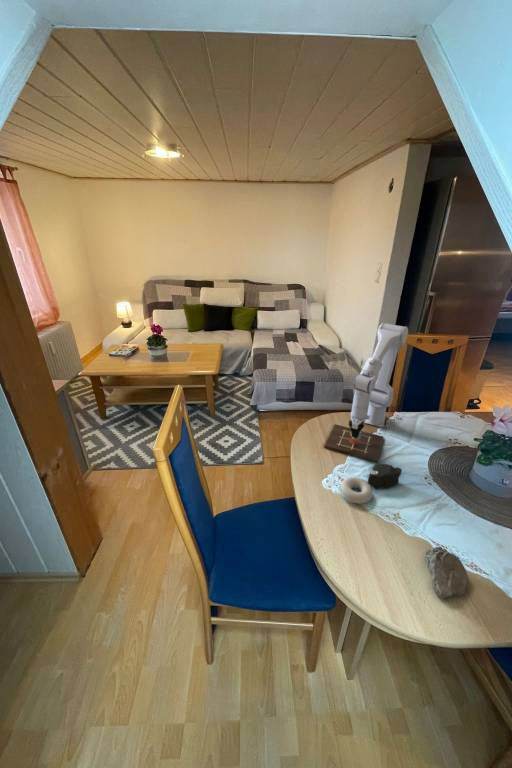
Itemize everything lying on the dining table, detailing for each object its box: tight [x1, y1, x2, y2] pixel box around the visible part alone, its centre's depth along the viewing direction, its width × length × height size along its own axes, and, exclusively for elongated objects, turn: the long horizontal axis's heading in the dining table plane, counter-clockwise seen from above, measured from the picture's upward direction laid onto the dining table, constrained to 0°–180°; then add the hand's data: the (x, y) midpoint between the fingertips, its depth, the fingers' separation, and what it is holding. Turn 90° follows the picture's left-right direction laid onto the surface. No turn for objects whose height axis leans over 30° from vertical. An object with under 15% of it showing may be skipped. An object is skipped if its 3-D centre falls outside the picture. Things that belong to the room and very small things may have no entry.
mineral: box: [367, 463, 403, 490], centre depth 101 cm, size 10×9×6 cm
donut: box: [340, 476, 373, 505], centre depth 98 cm, size 10×3×10 cm
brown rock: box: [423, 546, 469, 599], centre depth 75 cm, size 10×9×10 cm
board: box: [324, 423, 384, 464], centre depth 121 cm, size 16×20×1 cm
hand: (355, 434), depth 119 cm, fingers closed on alphabet block, 4 cm apart
